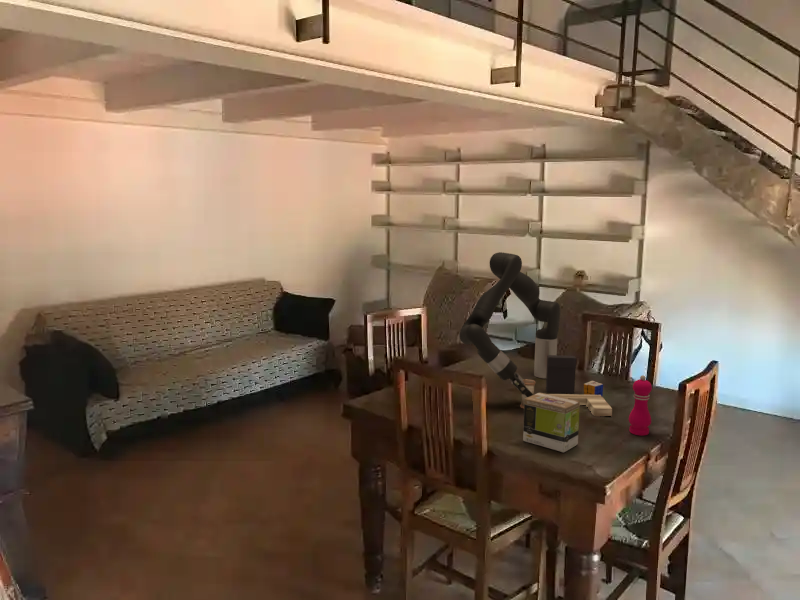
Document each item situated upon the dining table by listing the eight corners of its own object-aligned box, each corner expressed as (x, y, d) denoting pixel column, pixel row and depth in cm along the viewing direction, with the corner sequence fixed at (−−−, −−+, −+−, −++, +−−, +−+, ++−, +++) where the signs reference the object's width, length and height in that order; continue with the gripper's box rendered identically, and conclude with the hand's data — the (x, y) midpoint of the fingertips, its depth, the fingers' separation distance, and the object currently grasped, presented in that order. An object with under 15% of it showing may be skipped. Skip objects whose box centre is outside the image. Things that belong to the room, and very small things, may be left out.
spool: (519, 404, 252) (520, 379, 250) (533, 404, 252) (534, 379, 250) (521, 409, 247) (522, 383, 245) (535, 409, 246) (536, 383, 245)
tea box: (578, 444, 213) (581, 400, 211) (563, 453, 206) (565, 408, 203) (537, 433, 223) (539, 390, 221) (521, 441, 216) (523, 397, 213)
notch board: (547, 401, 256) (548, 393, 255) (600, 402, 255) (600, 394, 255) (556, 415, 240) (556, 407, 239) (611, 416, 239) (612, 408, 239)
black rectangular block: (572, 391, 269) (574, 355, 266) (574, 394, 265) (576, 358, 262) (545, 390, 270) (547, 354, 267) (546, 393, 266) (548, 357, 263)
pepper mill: (632, 426, 229) (636, 371, 226) (653, 431, 225) (657, 375, 221) (624, 432, 224) (628, 375, 220) (645, 437, 219) (650, 379, 216)
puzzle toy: (592, 393, 266) (592, 380, 265) (602, 397, 262) (603, 383, 261) (583, 396, 262) (583, 382, 261) (593, 399, 258) (594, 385, 257)
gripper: (511, 363, 239) (542, 394, 241) (506, 353, 253) (535, 382, 255) (496, 377, 240) (526, 408, 242) (492, 366, 254) (521, 395, 256)
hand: (531, 395), depth 248 cm, fingers open, 8 cm apart
